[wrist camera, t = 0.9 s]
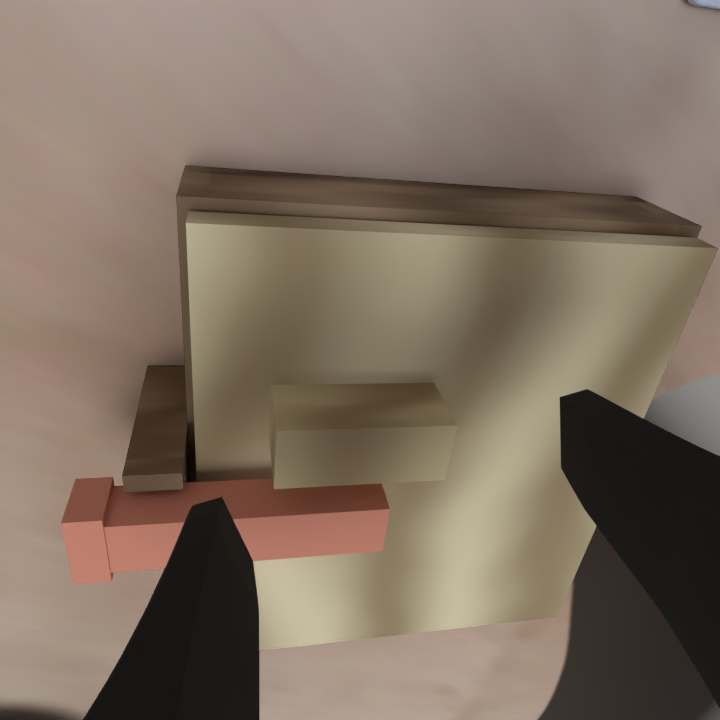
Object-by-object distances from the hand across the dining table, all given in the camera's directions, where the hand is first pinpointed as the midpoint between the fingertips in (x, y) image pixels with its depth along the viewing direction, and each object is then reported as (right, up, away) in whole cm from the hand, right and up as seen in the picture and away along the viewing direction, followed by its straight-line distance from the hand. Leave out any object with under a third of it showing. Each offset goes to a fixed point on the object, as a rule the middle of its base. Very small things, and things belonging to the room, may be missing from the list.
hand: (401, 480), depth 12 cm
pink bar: (-5, -2, +6) cm, 8 cm away
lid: (+1, -1, +9) cm, 9 cm away
